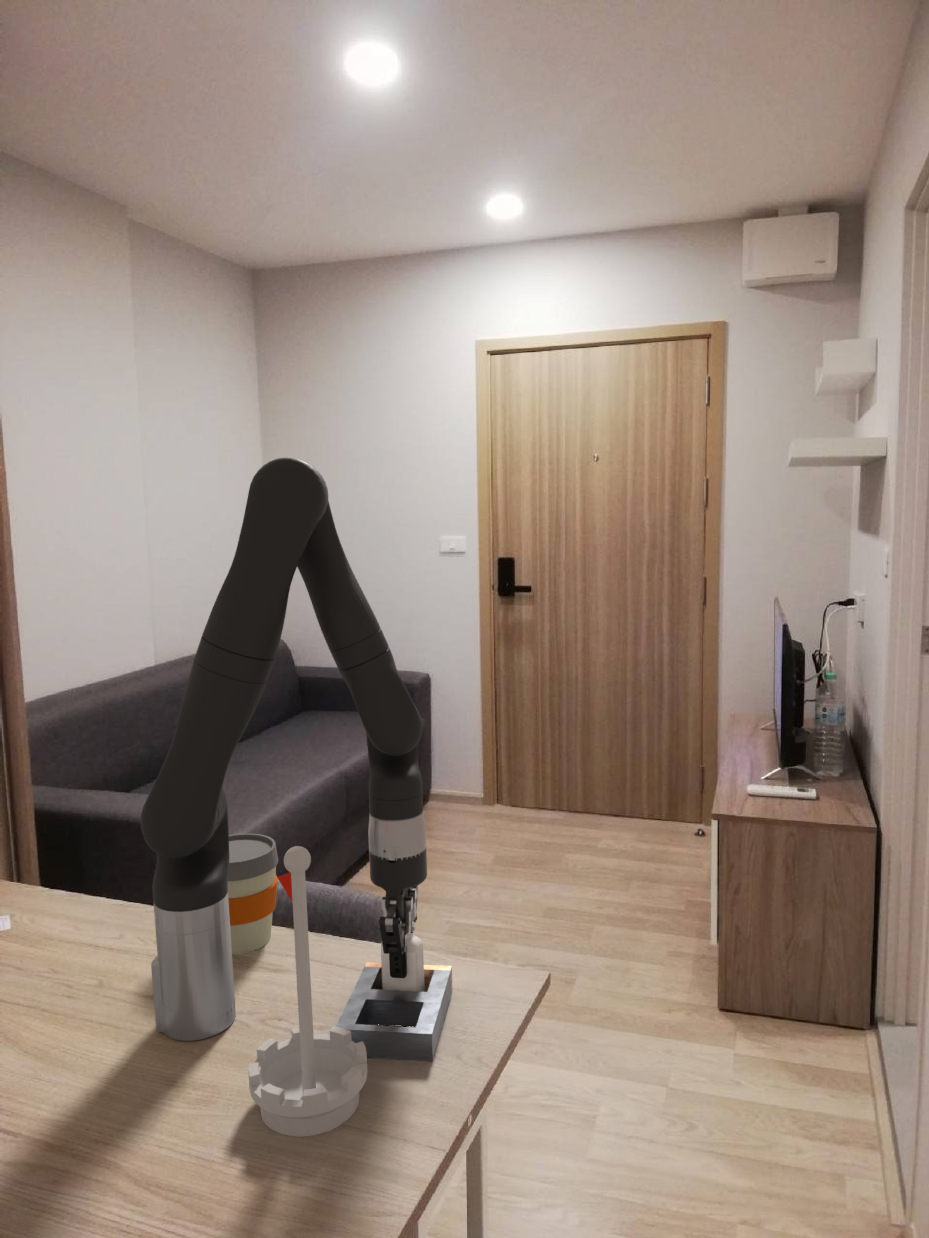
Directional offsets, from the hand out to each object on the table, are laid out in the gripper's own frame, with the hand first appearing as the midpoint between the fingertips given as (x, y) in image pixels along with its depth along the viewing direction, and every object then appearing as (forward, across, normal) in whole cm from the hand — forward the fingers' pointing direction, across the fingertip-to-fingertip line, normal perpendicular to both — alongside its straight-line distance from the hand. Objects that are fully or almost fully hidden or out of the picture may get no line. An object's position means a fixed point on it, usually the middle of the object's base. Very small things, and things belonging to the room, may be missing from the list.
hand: (402, 967), depth 119 cm
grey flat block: (+5, +4, 0) cm, 6 cm away
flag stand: (+5, +21, -6) cm, 22 cm away
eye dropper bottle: (+4, 0, 0) cm, 4 cm away
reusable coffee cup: (+5, -16, -29) cm, 33 cm away
